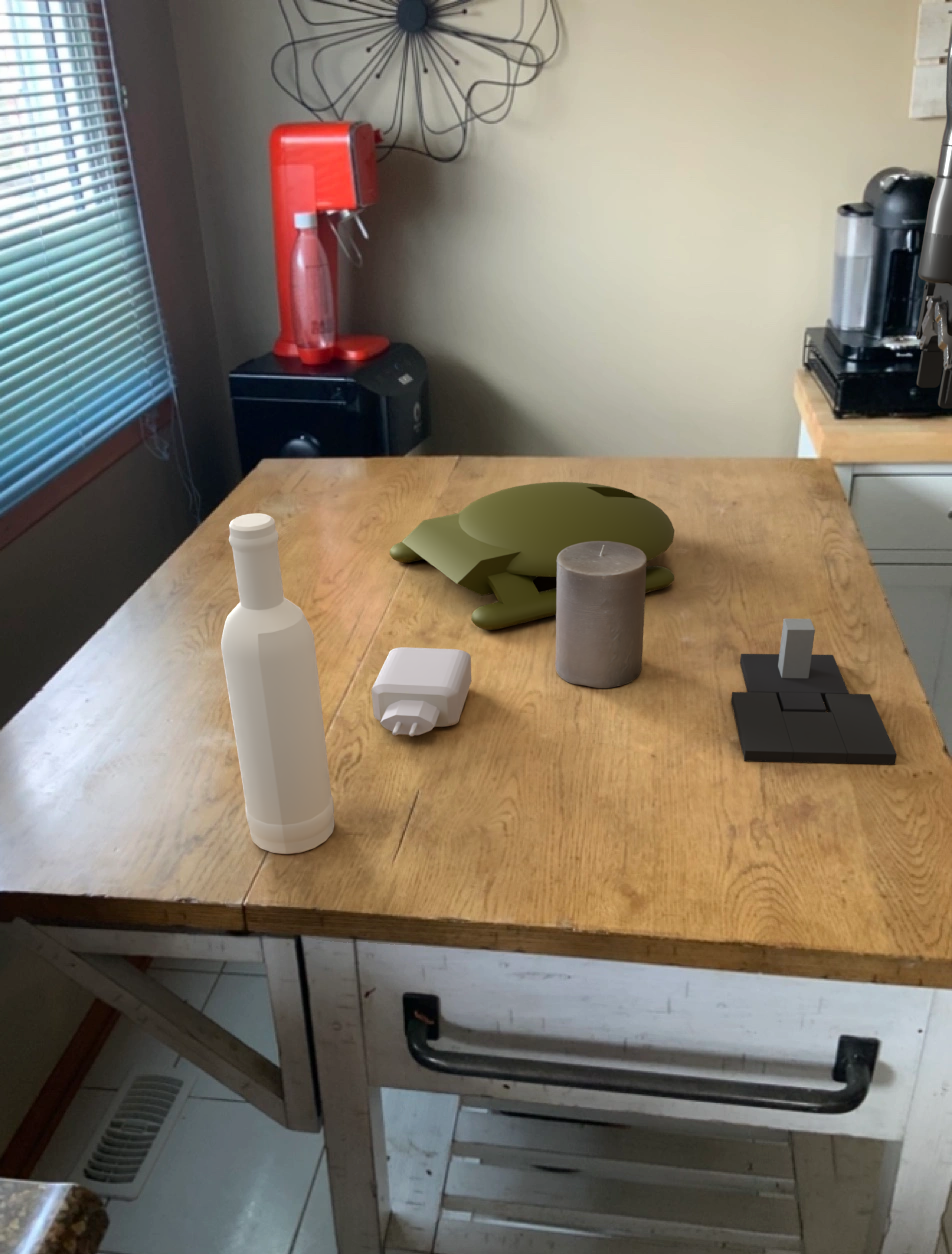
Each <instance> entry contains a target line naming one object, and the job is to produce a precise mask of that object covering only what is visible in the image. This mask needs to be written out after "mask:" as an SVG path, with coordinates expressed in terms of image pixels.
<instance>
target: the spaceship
mask: <svg viewBox="0 0 952 1254" xmlns="http://www.w3.org/2000/svg"><path fill="white" fill-rule="evenodd" d="M674 538H675V528H674V525H673V523H672V520H671V518H670V517H669V516H668V515H667V513H666V512H665V511H664V510H663V509H662V508H660V506H658V505H656V503H653V502H651V501H649V500H648V499H647V498H643V497H641V496H639V495H636V494H634V493H633V492H631V491H627V490H625V489H621V488H617V487H614V486H610V485H605V484H598V483H589V482H581V481H579V482H578V481H547V482H538V483H529V484H522V485H517V486H516V485H515V486H512V487H508V488H504V489H500V490H498V491H495V492H492V493H490V494H487V495H484V496H482V497H480V498H478V499H476V500H474V501H472V502H471V503H469V504H468V505H466V506H465V507H464V508H462V509H461V510H459V512H457V513H452V514H448V515H447V514H446V515H443V516H439V517H438V516H437V517H432V518H428V519H427V518H426V519H423V520H422V521H421V522H420V523H419V524H418V525H417V526H416V527H414V529H412V531H411V532H410V533H409V534H407V535H406V537H405V538H404V539H403V540H402V541H400V542H397V543H394V545H392V546H391V547H390V549H389V556H390V558H391V559H393V560H394V561H396V562H399V563H407V564H408V563H414V562H418V561H423V560H425V561H426V562H427V563H428V564H430V565H431V566H433V567H434V568H436V570H438V571H439V572H441V573H442V574H444V576H446V577H447V578H448V579H450V580H451V581H452V582H454V583H455V584H456V585H459V586H461V587H463V588H465V589H466V590H469V591H471V592H473V593H475V594H477V595H479V596H486V595H490V594H494V595H495V598H496V599H497V601H495V602H492V603H488V604H484V605H481V606H479V607H477V608H476V609H474V610H473V611H472V613H471V616H470V618H471V621H472V623H473V624H474V625H475V626H476V627H478V628H480V629H482V630H492V631H494V630H500V629H504V628H509V627H513V626H518V625H520V624H525V623H529V622H533V621H537V620H541V619H544V618H548V617H553V616H556V600H557V598H556V595H557V587H553V588H551V589H545V590H542V591H539V590H538V588H537V587H536V585H535V584H534V581H535V580H536V579H537V578H538V577H548V578H557V561H556V560H557V557H558V554H559V553H560V552H561V551H562V550H563V549H565V548H567V547H569V546H572V545H575V544H579V543H583V542H591V541H611V542H618V543H624V544H628V545H631V546H634V547H636V548H638V549H640V550H641V551H643V553H644V554H645V555H646V558H647V562H648V561H651V560H653V559H656V558H658V557H659V556H660V555H662V554H663V553H664V552H666V551H667V550H668V549H669V547H670V546H671V545H672V544H673V542H674ZM674 582H675V574H674V572H673V571H672V570H671V569H670V568H667V567H665V566H662V565H646V586H645V594H646V593H650V592H653V591H658V590H662V589H666V588H667V587H670V586H671V584H672V583H674Z"/></svg>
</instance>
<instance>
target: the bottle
mask: <svg viewBox="0 0 952 1254" xmlns="http://www.w3.org/2000/svg"><path fill="white" fill-rule="evenodd" d="M228 529H229V537H228V541H229V544H230V547H231V548H232V555H233V562H234V563H233V564H234V569H235V570H234V571H235V577H236V585H237V590H238V598H239V602H238V603H237V605H236V606H235V607H234V608H233V609H232V610H231V612H229V614H227V617H226V619H225V621H224V626H223V630H222V633H221V634H222V635H221V640H220V648H221V654H222V661H223V668H224V674H225V681H226V687H227V693H228V700H229V706H230V712H231V719H232V725H233V726H232V727H233V731H234V738H235V745H236V750H237V757H238V763H239V770H240V777H241V782H242V789H243V797H244V802H245V805H244V806H245V807H244V808H245V816H246V821H247V824H248V825H247V826H248V828H249V833H250V837H251V841H252V842H253V844H255V845H256V846H257V847H258V848H260V849H262V850H265V851H267V852H270V853H272V854H282V855H291V854H300V853H303V852H304V853H305V852H306V851H309V850H312V849H315V848H318V847H319V846H320V845H321V844H323V843H325V842H326V841H328V839H329V837H331V835H332V834H333V833H334V828H335V816H334V815H335V805H334V798H333V795H332V788H331V787H332V786H331V779H330V771H329V769H330V768H329V761H328V751H327V742H326V741H327V740H326V733H325V725H324V716H323V706H322V697H321V688H320V679H319V669H318V660H317V652H316V644H315V643H316V642H315V634H314V632H313V629H312V627H311V625H310V623H309V621H308V620H307V617H306V615H305V613H304V612H303V609H302V608H301V607H300V606H299V605H297V604H295V603H294V602H292V601H291V600H289V599H288V598H286V597H285V595H284V586H283V578H282V569H281V561H280V553H279V545H278V541H279V531H278V530H277V529H276V521H275V519H274V518H273V517H272V516H270V515H269V514H266V513H255V512H254V513H246V514H242V515H239V516H236V517H234V518H233V519H232V520H231V521H230V523H229V525H228Z"/></svg>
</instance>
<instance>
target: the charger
mask: <svg viewBox="0 0 952 1254" xmlns="http://www.w3.org/2000/svg"><path fill="white" fill-rule="evenodd" d="M471 656H472V655H471V654H470V653H469V652H467V651H464V650H462V649H456V648H434V647H433V648H432V647H431V648H430V647H410V646H409V647H407V646H406V647H405V646H403V647H401V646H400V647H395V648H392V649H391V650H390V651H389V652H388V654H387V657H385V660H384V663H383V665H382V667H381V669H380V671H379V673H378V675H377V677H376V679H375V681H374V683H373V685H372V687H371V690H370V691H371V700H372V701H371V702H372V712H373V713H372V714H373V717H374V719H375V720H377V721H379V724H380V725H381V726H382V727H383V728H385V730H387V731H390V732H391V733H392V735H393V736H397V735H408V736H409V737H414V736H420V735H423V734H425V733H428V732H430V731H432V730H433V728H435V727H441V728H442V727H450V726H454V725H457V724H458V723H459V721H460V718H461V715H462V711H463V709H464V706H465V702H466V699H467V696H468V693H469V691H470V687H471V684H472V680H473V679H472V657H471Z"/></svg>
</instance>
